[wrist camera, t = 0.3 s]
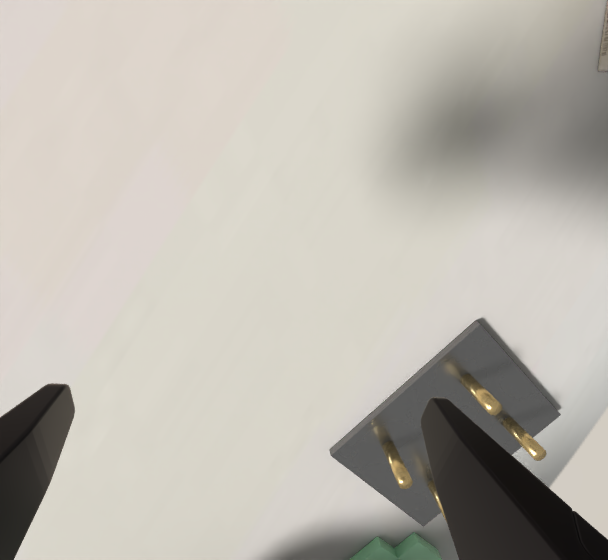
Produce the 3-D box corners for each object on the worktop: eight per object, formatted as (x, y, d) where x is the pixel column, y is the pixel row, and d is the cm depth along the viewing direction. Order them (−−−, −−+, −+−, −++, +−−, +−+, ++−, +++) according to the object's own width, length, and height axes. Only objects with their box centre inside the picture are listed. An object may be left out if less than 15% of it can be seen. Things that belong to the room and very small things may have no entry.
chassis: (420, 520, 33) (442, 567, 29) (329, 449, 29) (341, 493, 25) (555, 410, 31) (598, 445, 27) (475, 320, 27) (512, 346, 24)
